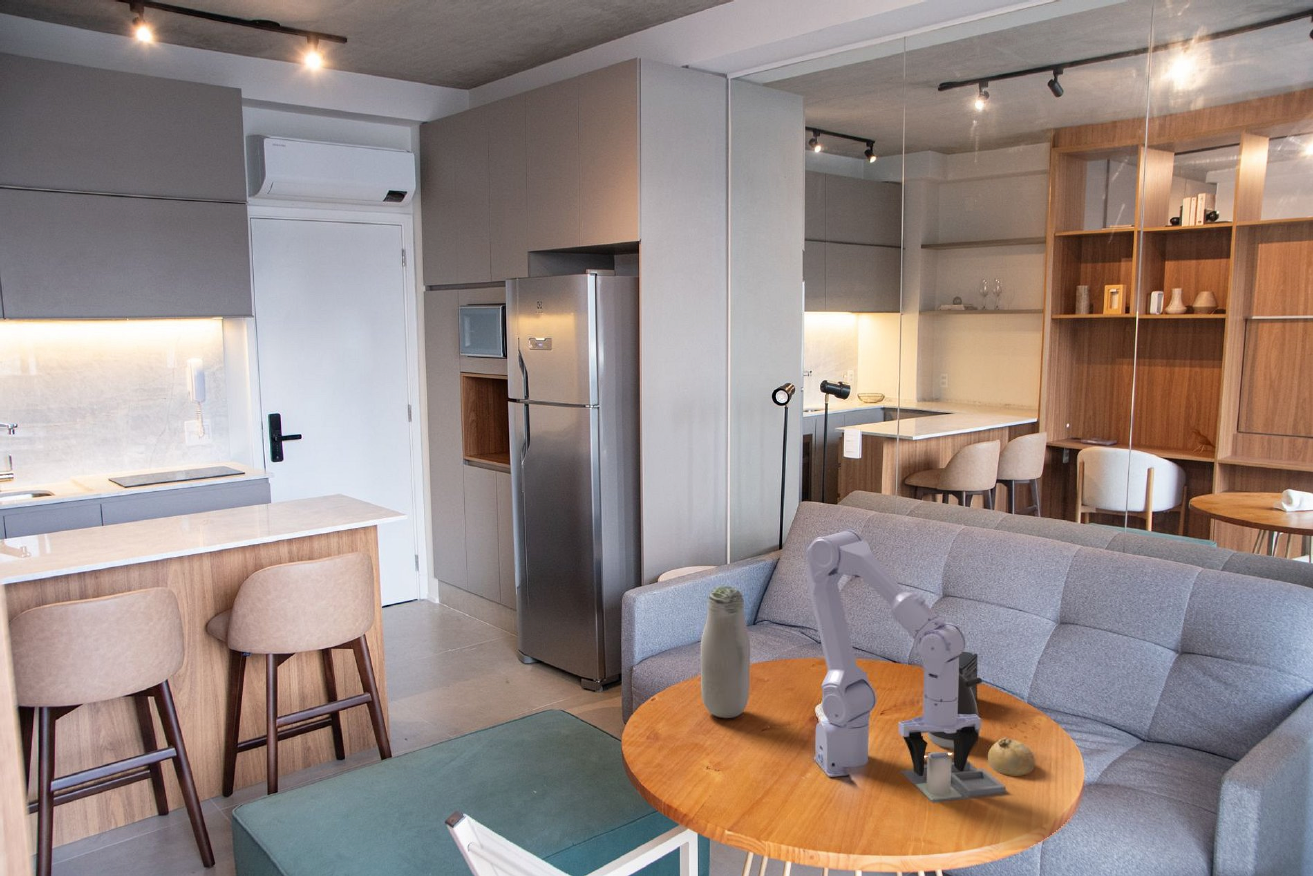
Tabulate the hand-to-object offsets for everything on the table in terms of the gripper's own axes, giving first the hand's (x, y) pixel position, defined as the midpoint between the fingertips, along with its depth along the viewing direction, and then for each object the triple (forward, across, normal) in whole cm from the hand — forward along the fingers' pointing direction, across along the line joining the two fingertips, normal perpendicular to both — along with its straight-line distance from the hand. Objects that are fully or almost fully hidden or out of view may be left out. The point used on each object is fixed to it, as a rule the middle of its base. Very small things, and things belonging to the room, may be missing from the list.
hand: (938, 771), depth 163 cm
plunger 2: (+3, +6, +6) cm, 9 cm away
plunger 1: (+3, +2, +6) cm, 7 cm away
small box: (+5, +25, +38) cm, 46 cm away
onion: (+5, +18, +6) cm, 19 cm away
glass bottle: (+5, -26, +44) cm, 51 cm away
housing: (+5, +4, +2) cm, 7 cm away
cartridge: (+3, 0, 0) cm, 3 cm away
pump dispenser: (+5, +13, +18) cm, 23 cm away
